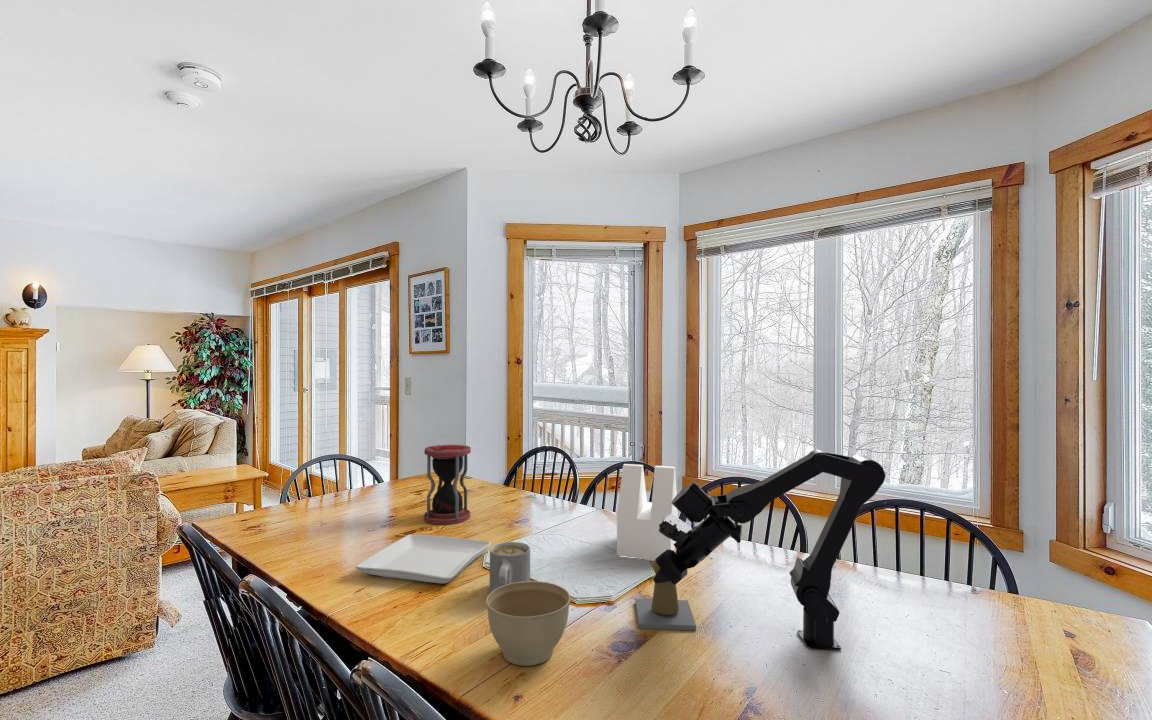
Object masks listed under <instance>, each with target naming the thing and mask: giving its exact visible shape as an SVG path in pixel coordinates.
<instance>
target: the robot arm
mask: <svg viewBox="0 0 1152 720" xmlns="http://www.w3.org/2000/svg"><path fill="white" fill-rule="evenodd" d="M822 473H824V474H828V475H832V476H835V477H838V478H840V487H839V488H840V489H839V494H838V497H837V499H836V500H835V502H834V505H833V507H832V509H831V511H830V513H829V516H828V518H827V519H826V522H825V523H824V525H823V528H822V530H821V532H820V534H819V537H818V538H817V540H816V543H815V545H814V547H813V548H812V549H813V550H812V551H811V553H810V555H808V556H807V557H806V558H805V559H802V558H800V557H799V556H797V557H796V560H795V563H794V566H793V568H792V569H791V570H790V571H789V573H788V574H789V576H790V585H791V588H792V590H793V593H794V594H795V595H794V596H795V597H796V599H797V601H798V603H799V604H800V605H801V606H803V609H802V610H803V612H802V613H803V614H802V617H803V618H802V619H803V621H802V624H803V625H802V629H798V630H796V634H797V635H798V636H799V638H800V640H801V641H802V642H803V644H804V645H805V646H806V648H807V649H810V650H811V649H813V650H814V649H815V650H837V651H838V650H839V651H840V650H841V649H842V645H840V644H839V642H838V641H837V640H836V638H835V622H837V621H838V618H839V615H840V614H841V613H840V610H839V608H838V607H837V605H836V603H835V601H834V600H833V598H832V597H831V595H830V589H831V585H832V584H831V583H832V582H831V581H832V573H833V567H834V565H835V563H836V561H837V559H838V557H839V555H840V552H841V550H842V549H843V546H844V544H845V542H846V540H847V538H848V537H849V534H850V531H851V530H852V527H853V526H854V524H855V521H856V519H857V517H858V516H859V514H860V511H861V509H862V507H863V505H864V504H866V503H867V502H869V500H870V499H872V498H873V497H874V496H875V495H876V494H877V492H878V490H879V489H880V488H881V487H882V486H883V484H884V482H885V479H886V472H885V469H884V467H883V466H882V465H881V464H880V463H879V462H877V461H875V460H874V459H872V458H870V457H868V456H866V455H863V454H855V455H852V456H847V455H843V454H838V453H832V452H827V451H824V450H821V449H813V450H811V451H810V452H809V453H808V454H806V455H804V456H803V457H802V458H800V459H798V460H796V461H794V462H791V463H790V464H789V465H787V466H786V467H783V468H781V469H780V470H778V471H777V472H775V473H773V474H771V475H769V476H767V477H766V478H763V480H761V481H758V482H755V483H749V484H745V485H743V486H740V487H737V488H734V489H732V490H730V491H729V492H727V493H726V494H719V495H711V496H710V495H709V494H707V493H706V491H704V490H703V489H702V488H701V486H700V485H699V484H698V483H697V482H696V481H695V480H694V481H692V482H691V483H690V484H688V485H687V486H685V487H684V488H682V489H681V490H680V491H679V492H677V495H676V497H675V498H674V499H673V501H672V504H673V505H674V506H675V507H676V508H677V511H679V512H680V514H682V515H683V516H684V517H685V518H686V519H687V521H689V522H690V523H695V524H697V523H699V524H697V525H695V526H694V527H693V528H692V526H690V525H689V524H688V523H686V522H685V521H684V520H682V519H680V518H679V517H678V516H677V517H676V516H674V515H671V514H670V515H668V516H667V517H665V518H664V520H663V522H662V523H661V524H659V527H660V528H659V532H660V533H661V534H663V535H665V536H666V537H667V538H670V539H672V540H673V541H676V543H674V544H673V545H674V546H675V550H674V551H673V550H669V549H667V550H666V551H665V552H663V553H662V554H661V555H659V556H658V557H657V558H656V559H655V560H656V563H657V564H658V565H659V567H660V569H659V571H658V572H657V574H656V573H655V576H654V577H653V579H652V581H653V582H654V584H655V583H656V584H657V583H662V582H668V581H671V582H672V583H673V584H675V585H676V586H677V584H678V583H680V582H681V581H682V580H683V579H684V578H685V577H686V576H687V575H688V570H689V569H693V568H695V567H696V566H697V565H698V564H699V563H700V562H702V561H704V560H705V559H706V558H707V557H708V556H709V555H710V554H711V553H712V552H713V551H715V550H716V549H717V548H718V547H719V546H720V545H722V544H723V543H724V542H726V541H727V540H728V539H729V538H730V537H732V539H733V540H734V541H735V542H737V544H739V543H741V541H742V535H743V533H742V531H743V530H742V529H743V524H747V523H750V522H751V521H752V520H753V519H755V518H756V517H757V516H758V515H759V514H760V513H762V511H764V509H766V507H767V506H768V505H769V504H770V503H772V501H774V500H775V499H778V498H780V496H783V495H784V494H786V493H788V492H790V491H791V490H794V489H795V488H797V487H799V486H801V485H803V484H804V483H806V482H808V481H810V480H811V479H814V478H815V477H816V476H819V475H820V474H822ZM737 523H738V524H737Z"/></svg>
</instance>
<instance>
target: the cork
mask: <svg viewBox="0 0 1152 720" xmlns="http://www.w3.org/2000/svg"><path fill="white" fill-rule="evenodd" d="M652 567H653V572H654V573H655V575H656V574H657V572H658V571H659V569H660V567H659V565H658V564H657V563H656V560H655V561H654V562H653V564H652ZM653 586H654V587H653V591H652V592H653V593H652V599H653V600H652V610H653V611H654V612H656V613H659V614H664V615H671V614H675V613H677V612H678V611H679V605H678V600H679V599H678V591H677V584H676V585H675V584H673V583H672V582H671V581H668V582H662V583H657V584H656V583H655V582H654V585H653Z"/></svg>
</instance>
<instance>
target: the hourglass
mask: <svg viewBox="0 0 1152 720" xmlns="http://www.w3.org/2000/svg"><path fill="white" fill-rule="evenodd" d="M471 448H472V447H471V446H468V445H463V444H441V445H440V444H437V445H433V446H427V447H425V448H424V455H426V460H427V462H426V476H427V478H428V480H429V481H430V484H431V485H430V490H429V491H428V492H427V496H426V512H425V513H424V514H423V520H424V522H425V523H428V524H432V525H453V524H460V523H464V522H466V521H468V520H469V519H470V518H471V511H470V510H469V509H468V489H467V486H466V485H465V482H464V480H465V477H466V474H467V473H468V455H469V454H471V453H472V449H471ZM431 458H432V460H431ZM431 461H432V464H431ZM431 465H432V470H433V471H434V474H435V475H436V476H437V477H438V485H437V489H436V490H437V491H436V492H435V493H434V496H433V497H432V503H431V496H432V493H433V492H434V491H435V487H436V482H435V480H434V479H433V478H432V476H431V475H432V474H431ZM463 469H464V470H463ZM461 471H463V472H462V474H461V475H460V473H461ZM459 475H460V477H459ZM458 481H459V483H460V486H461V487H462V489H463V491H464V492H463V496H464V497H463V496H462V494H461V492H460V491H459V490H458ZM452 482H453V483H452ZM431 508H432V509H431Z"/></svg>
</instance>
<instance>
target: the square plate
mask: <svg viewBox="0 0 1152 720" xmlns="http://www.w3.org/2000/svg"><path fill="white" fill-rule="evenodd" d="M491 545H492V542H491V541H485V540H479V539H478V540H477V539H469V538H461V537H452V536H443V535H441V536H440V535H429V534H428V535H427V534H416V533H414V534H413V533H411V534H410V533H409V534H407V535H406V536H404V537H402V538H400V539H397V540H395V542H393V543H391V544H388V545H386V546H385V547H383V548H382V549H381V550H379V551H377V552H376V553H374V554H372V555H371V556H370V555H369V557H367V558H366V559H364V560H362V561H361V562H359V563H358V564H357V565H355V566H354V567H355V569H357V570H358V571H359V572H361V573H363V574H367V575H374V576H380V577H384V578H392V579H397V580H407V581H417V582H424V583H433V584H444V585H445V584H447V583H450V582H451V581H452V580H453V579H454V578H456V577H457V576H458V575H459V574H460V573H461V572H463V570H464V569H465V568H466V567H467V566H469V565H470V564H471V563H472V562H474V561H475V560H476V559H477V558H478V557H480V556H481V555H483V553H485V552H486V550H487V549H488V548H489V547H490V546H491Z"/></svg>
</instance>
